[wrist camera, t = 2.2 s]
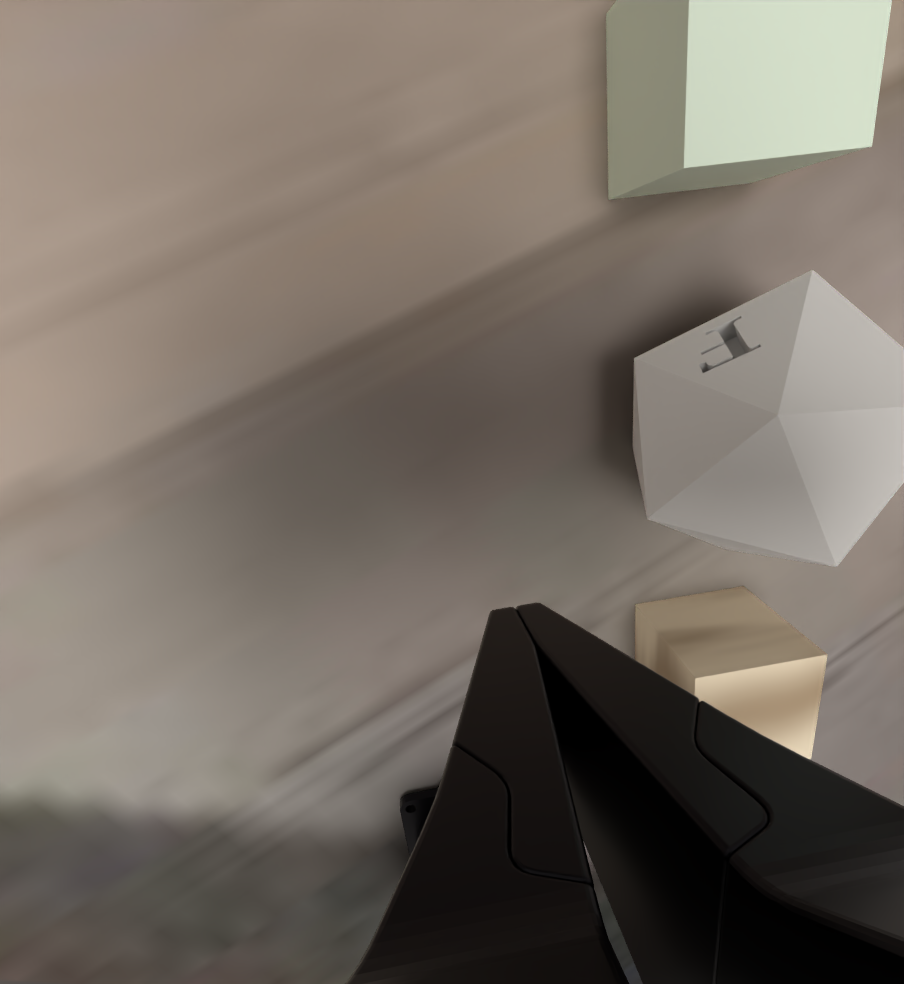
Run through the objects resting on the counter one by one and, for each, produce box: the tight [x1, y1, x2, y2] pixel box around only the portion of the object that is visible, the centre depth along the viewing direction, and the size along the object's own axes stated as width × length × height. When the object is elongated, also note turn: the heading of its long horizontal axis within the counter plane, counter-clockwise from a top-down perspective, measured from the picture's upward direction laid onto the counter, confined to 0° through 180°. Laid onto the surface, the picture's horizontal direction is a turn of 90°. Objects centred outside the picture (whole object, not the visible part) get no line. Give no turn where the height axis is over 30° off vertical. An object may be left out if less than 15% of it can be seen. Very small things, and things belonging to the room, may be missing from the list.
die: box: [633, 270, 904, 567], centre depth 17 cm, size 8×9×10 cm
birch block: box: [635, 586, 827, 759], centre depth 23 cm, size 5×5×5 cm
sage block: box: [606, 0, 892, 200], centre depth 15 cm, size 5×5×5 cm
